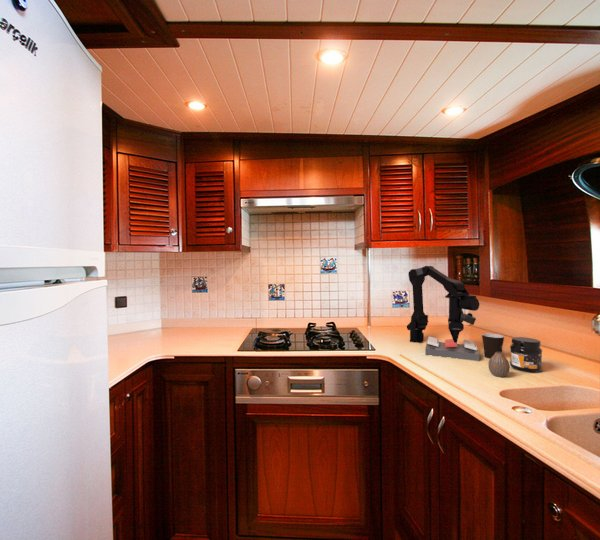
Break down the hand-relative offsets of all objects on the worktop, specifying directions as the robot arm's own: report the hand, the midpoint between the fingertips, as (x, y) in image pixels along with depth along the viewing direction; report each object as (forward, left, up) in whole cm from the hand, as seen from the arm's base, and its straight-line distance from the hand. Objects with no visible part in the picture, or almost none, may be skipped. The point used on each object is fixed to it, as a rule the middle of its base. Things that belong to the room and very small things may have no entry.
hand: (455, 340), depth 151 cm
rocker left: (-10, 0, -2) cm, 10 cm away
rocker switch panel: (-2, -2, -6) cm, 6 cm away
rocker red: (-2, 0, -2) cm, 2 cm away
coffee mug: (+16, 0, -6) cm, 17 cm away
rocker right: (+6, 0, -2) cm, 6 cm away
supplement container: (+25, -14, -6) cm, 30 cm away
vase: (+14, -27, -6) cm, 31 cm away
